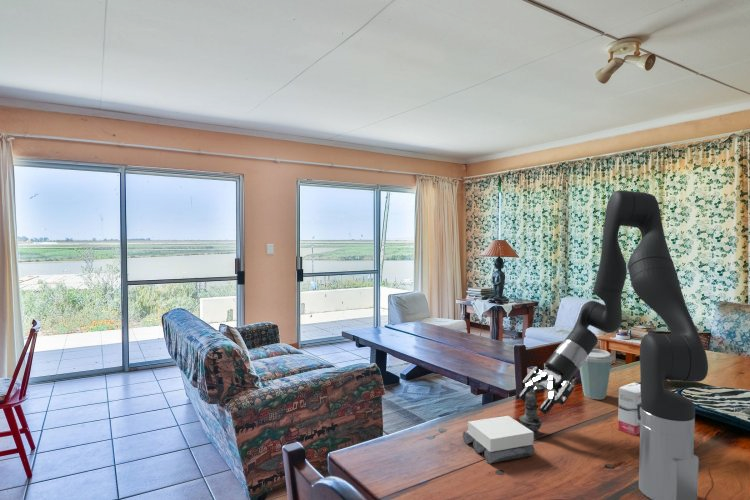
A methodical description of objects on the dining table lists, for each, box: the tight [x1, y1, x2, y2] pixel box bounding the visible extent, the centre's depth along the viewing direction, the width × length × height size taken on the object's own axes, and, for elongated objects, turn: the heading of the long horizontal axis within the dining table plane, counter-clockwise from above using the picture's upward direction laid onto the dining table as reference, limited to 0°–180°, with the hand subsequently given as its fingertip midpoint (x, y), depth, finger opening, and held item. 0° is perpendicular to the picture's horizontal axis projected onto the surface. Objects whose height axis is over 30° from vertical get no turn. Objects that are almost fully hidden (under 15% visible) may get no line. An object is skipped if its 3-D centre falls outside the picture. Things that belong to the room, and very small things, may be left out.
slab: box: [467, 415, 535, 452], centre depth 107 cm, size 10×12×3 cm
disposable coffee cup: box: [579, 348, 613, 400], centre depth 145 cm, size 11×11×15 cm
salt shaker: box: [519, 389, 543, 438], centre depth 118 cm, size 6×6×12 cm
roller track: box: [462, 430, 536, 464], centre depth 109 cm, size 13×12×3 cm
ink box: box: [617, 382, 641, 436], centre depth 120 cm, size 8×5×12 cm, turn 123°
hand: (531, 405), depth 118 cm, fingers open, 8 cm apart
